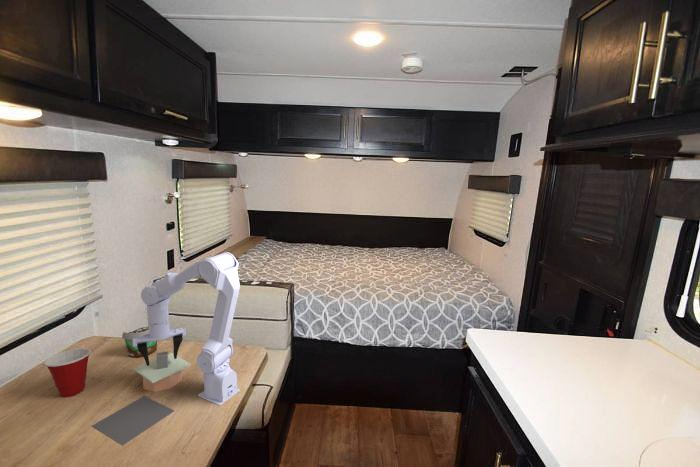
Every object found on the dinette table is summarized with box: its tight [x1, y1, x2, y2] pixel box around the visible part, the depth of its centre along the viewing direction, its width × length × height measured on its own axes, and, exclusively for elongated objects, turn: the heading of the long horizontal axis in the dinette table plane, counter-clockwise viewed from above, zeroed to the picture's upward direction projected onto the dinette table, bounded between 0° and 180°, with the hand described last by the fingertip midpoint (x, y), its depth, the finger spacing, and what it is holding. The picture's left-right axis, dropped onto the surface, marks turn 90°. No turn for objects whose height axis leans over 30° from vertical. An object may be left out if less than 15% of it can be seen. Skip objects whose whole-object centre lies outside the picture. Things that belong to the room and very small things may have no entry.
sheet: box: [133, 351, 192, 384], centre depth 106 cm, size 12×12×5 cm
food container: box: [121, 326, 158, 359], centre depth 123 cm, size 12×6×10 cm, turn 143°
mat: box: [91, 395, 175, 446], centre depth 90 cm, size 14×14×1 cm
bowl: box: [142, 370, 183, 393], centre depth 106 cm, size 11×11×5 cm
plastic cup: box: [43, 347, 92, 398], centre depth 100 cm, size 11×11×12 cm
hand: (161, 360), depth 106 cm, fingers open, 7 cm apart
